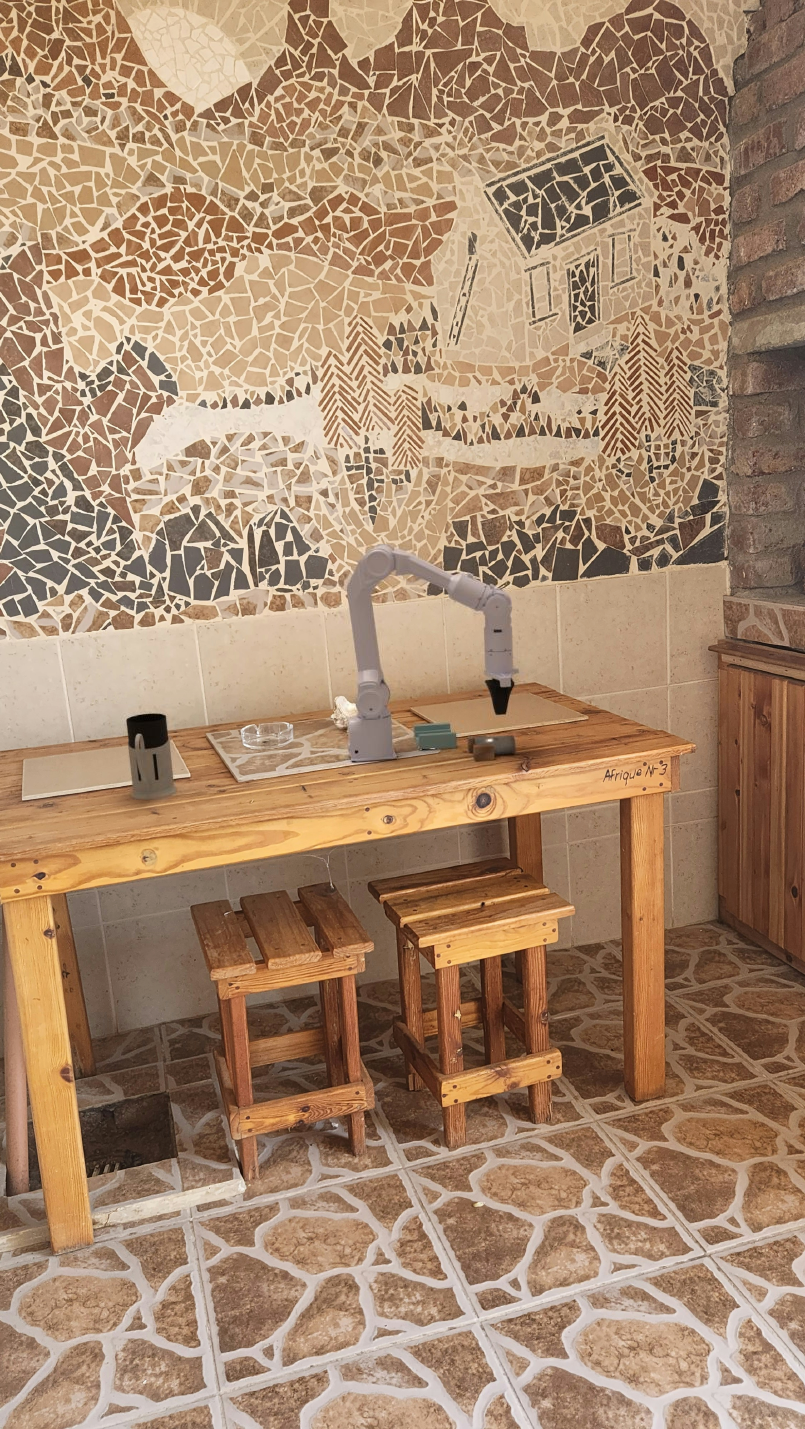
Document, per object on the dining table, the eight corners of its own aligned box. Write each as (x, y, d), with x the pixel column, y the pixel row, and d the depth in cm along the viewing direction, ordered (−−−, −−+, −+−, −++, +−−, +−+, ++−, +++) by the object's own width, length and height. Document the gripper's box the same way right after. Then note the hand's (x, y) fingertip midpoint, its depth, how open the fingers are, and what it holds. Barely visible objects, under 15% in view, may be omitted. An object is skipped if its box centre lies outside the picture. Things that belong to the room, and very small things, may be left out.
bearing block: (475, 761, 221) (474, 747, 221) (468, 750, 230) (467, 736, 229) (494, 760, 222) (494, 746, 221) (486, 748, 230) (486, 735, 230)
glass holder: (180, 784, 215) (173, 711, 212) (167, 807, 202) (159, 729, 198) (136, 786, 215) (128, 713, 212) (120, 809, 201) (111, 732, 198)
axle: (477, 759, 224) (477, 741, 223) (474, 752, 228) (473, 734, 226) (515, 756, 225) (515, 738, 223) (511, 750, 228) (511, 732, 227)
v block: (419, 750, 231) (419, 736, 231) (414, 738, 241) (413, 724, 240) (456, 747, 232) (456, 733, 231) (449, 736, 242) (449, 722, 241)
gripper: (525, 654, 214) (526, 720, 218) (511, 642, 228) (512, 704, 232) (489, 656, 214) (491, 723, 217) (478, 644, 228) (480, 707, 231)
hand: (500, 714), depth 224 cm, fingers closed
